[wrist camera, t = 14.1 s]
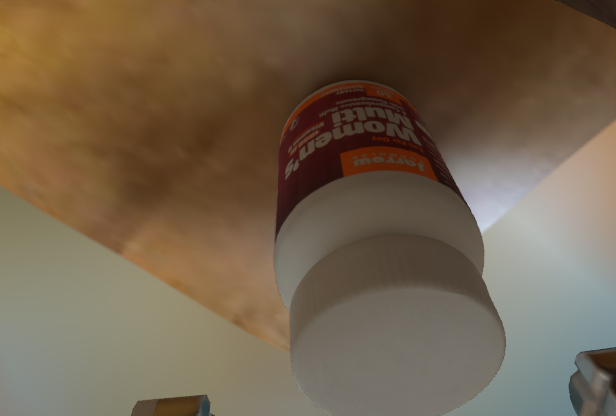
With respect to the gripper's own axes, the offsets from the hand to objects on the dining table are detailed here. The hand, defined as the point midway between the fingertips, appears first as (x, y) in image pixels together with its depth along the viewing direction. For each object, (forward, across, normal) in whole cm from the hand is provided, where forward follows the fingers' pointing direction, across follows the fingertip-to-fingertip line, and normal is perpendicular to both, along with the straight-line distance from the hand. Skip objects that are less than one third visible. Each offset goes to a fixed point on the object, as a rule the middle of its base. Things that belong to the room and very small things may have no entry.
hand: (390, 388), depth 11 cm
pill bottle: (+12, 0, 0) cm, 12 cm away
